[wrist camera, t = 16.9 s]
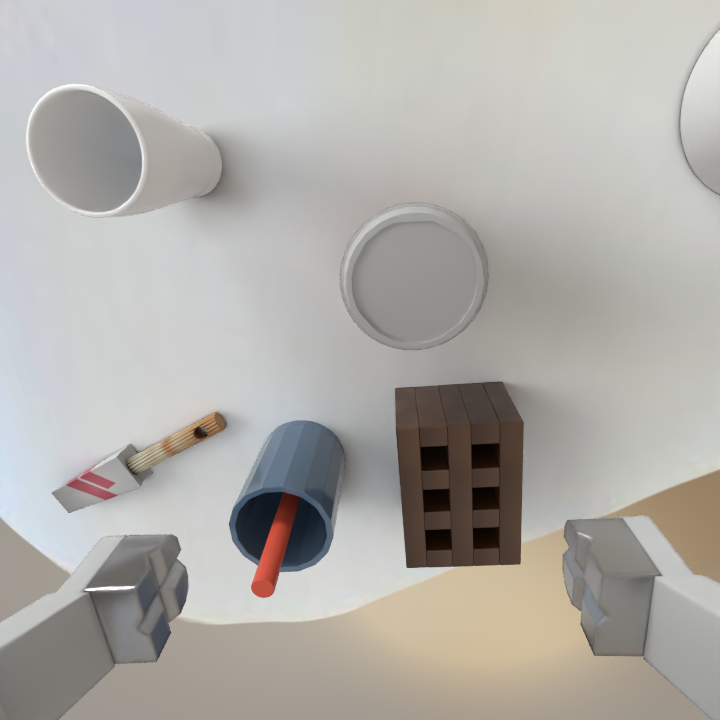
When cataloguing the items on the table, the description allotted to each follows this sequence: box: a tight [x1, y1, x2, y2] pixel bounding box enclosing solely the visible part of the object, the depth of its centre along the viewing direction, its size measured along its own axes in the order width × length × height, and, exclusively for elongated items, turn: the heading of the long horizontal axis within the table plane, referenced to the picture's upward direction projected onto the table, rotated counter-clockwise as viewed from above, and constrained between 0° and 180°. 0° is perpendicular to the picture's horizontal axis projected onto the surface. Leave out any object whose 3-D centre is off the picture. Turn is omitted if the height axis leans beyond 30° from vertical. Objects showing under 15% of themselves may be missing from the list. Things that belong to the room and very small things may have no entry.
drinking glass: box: [26, 84, 222, 218], centre depth 33 cm, size 7×7×15 cm
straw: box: [251, 492, 301, 598], centre depth 41 cm, size 2×2×16 cm
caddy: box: [395, 382, 524, 568], centre depth 44 cm, size 10×14×8 cm
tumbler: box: [229, 421, 345, 572], centre depth 44 cm, size 8×8×11 cm
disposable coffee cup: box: [340, 203, 488, 350], centre depth 36 cm, size 10×10×12 cm
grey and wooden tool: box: [52, 413, 226, 513], centre depth 49 cm, size 4×3×20 cm
